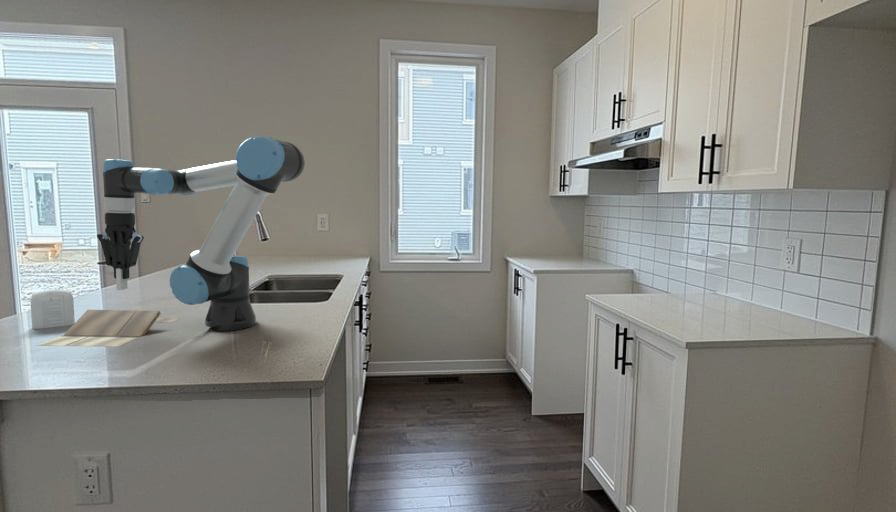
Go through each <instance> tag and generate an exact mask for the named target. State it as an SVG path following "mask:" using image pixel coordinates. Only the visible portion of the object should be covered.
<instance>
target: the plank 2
mask: <svg viewBox="0 0 896 512" xmlns="http://www.w3.org/2000/svg"><path fill="white" fill-rule="evenodd" d="M180 319H181V318H180V317H179V318H178V317H174V318H172V317H171V318H170V317H169V318H167V317H165V318H163V317H161V318H160V317H158V318H157V319H156V321H155V322H154V323H153V324H157V323H159V324H164V323H165V324H167V323H168V324H171V323H174V322H176V321H178V320H180Z"/></svg>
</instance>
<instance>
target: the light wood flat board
mask: <svg viewBox="0 0 896 512" xmlns="http://www.w3.org/2000/svg"><path fill="white" fill-rule="evenodd" d="M139 338H140V337H133V336H73V335H64V334H63V335H60V336H57V337H54V338H52V339H49V340H47V341H43V342H40V343H38V344H37V346H45V347H46V346H52V347H53V346H54V347H59V346H60V347H107V348H108V347H110V348H111V347H112V348H113V347H114V348H115V347H121V346H122V345H123V346H124V345H125V344H127V343H130V342H131V341H133V340H135V339H139Z"/></svg>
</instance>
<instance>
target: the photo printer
mask: <svg viewBox="0 0 896 512" xmlns="http://www.w3.org/2000/svg"><path fill="white" fill-rule="evenodd" d="M29 301H30V315H31V328H32V330H36V329H50V328H58V327H67V326H73V325H74V324H75V322H76V321H75V305H74V303H75V302H74V297H73V294H72V291H71V290H65V289H45V290H42V291H37V292H34V293H31V297H30V300H29Z"/></svg>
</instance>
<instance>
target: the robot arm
mask: <svg viewBox="0 0 896 512" xmlns="http://www.w3.org/2000/svg"><path fill="white" fill-rule="evenodd" d="M305 164H306V161H305V157H304V154H303V152H302V151H301V149H300V148H299V147H297V145H295V144H293V143H291V142H290V141H289V142H288V141H284V140H279V139H276V138H273V137H270V136H259V135H257V136H252V137H249V138H247V139H245V140H244V141H243V142H242V143H241V144H240V145H239V147H238V148H237V151H236V153H235V159H234V160H230V161H229V160H228V161H223V162H218V163H213V164H212V163H211V164H207V165H202V166H201V165H200V166H195V167H191V168H185V169H180V170H179V169H178V170H173V169H172V170H171V169H163V168H158V167H155V168H154V167H135V165H134V162H133V160H128V159H127V160H126V159H125V160H124V159H113V158H112V159H111V158H108V159H105V160H104V161H103V166H102V167H103V168H102V177H103V179H102V180H103V205H104V208H103V209H104V211H106V212H104V223H105V225H106V227H105V228H104V232H102V233H98V234H97V235H96V237H97V239H98V240H99V242H100V245H101V249H102V252H103V256H104V259H105V260H104V261H105V263H106V266H108V267H112V268H113V278H114V279H116V280H115V281H116V283H115V285H116V291H123V290H127V289H128V288H129V287H128V279H129V278H130V269H131V268H132V267H135V266H137V261H138V257H139V253H140V248H141V243H142V242H143V241H144V238H145V237H144V235H139V234H138V233H137V231H136V228H135V225H136V214H135V213H134V212H135V209H136V208H135V206H136V205H135V194H144V195H153V196H155V195H156V196H157V195H158V196H160V195H161V196H162V195H182V196H189V195H195V194H197V193H198V192H204V191H209V190H215V189H220V188H222V189H223V188H228V187H233V188H232V190H231V192H230V194H229V195H228V197H227V199H226V201H225V202H224V205H223V206H222V208H221V210H220V212H219V213H218V215H217V218H216V219H215V221H214V222H213V225H212V226H211V229H210V230H209V232H208V234H207V236H206V238H205V240H204V242H203V244H201V247H200V249H196V250H193V251H192V252H191V253H190V255H189V257H188V258H187V260H186V262H185V264H183V265H179V266H177V267H176V268H174V269H173V270H172V272H171V273H170V277H169V287H170V288H171V293H172V294H173V296H174V297H175V299H176V300H178V301H179V302H181V303H182V304H184V305H189V306H194V305H202V304H204V303H207V302H210V303H209V307H208V310H207V313H206V317H205V320H204V324H205V326H206V327H209V328H208V330H209V331H215V332H226V331H227V332H230V331H238V330H243V328H244V329H248V328H251V327H253V326H255V325H256V324H257V317H256V314H255V311H254V309H253V306H252V303H251V300H250V299H251V298H250V265H249V259H248V258H247V257H246V256H243V255H235V253H236V252H237V250H238V248H239V246H240V244H241V242H242V241H243V239H244V237H245V235H246V234H247V231H248V230H249V228H250V227H251V224H252V223H253V221H254V220H255V218H256V216H257V214H258V212H259V211H260V209H261V207H262V205H263V203H264V202H265V200H266V199H267V198H266V197H267V196H270V195H271V196H272V195H274V194H275V193H276V192H277V190H278V189H279V187H280V186H281V183H282V182H285V183H287V182H292V181H294V180H296V179H298V178H299V177H300V176H301V175H302V174H303V172H304V169H305ZM255 323H256V324H255ZM254 324H255V325H254ZM252 325H253V326H252ZM250 326H251V327H250ZM247 327H248V328H247Z"/></svg>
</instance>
